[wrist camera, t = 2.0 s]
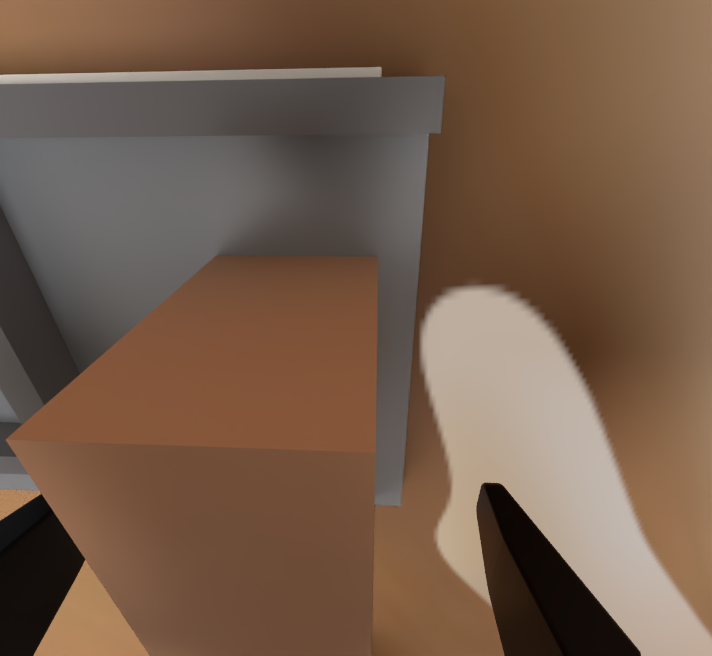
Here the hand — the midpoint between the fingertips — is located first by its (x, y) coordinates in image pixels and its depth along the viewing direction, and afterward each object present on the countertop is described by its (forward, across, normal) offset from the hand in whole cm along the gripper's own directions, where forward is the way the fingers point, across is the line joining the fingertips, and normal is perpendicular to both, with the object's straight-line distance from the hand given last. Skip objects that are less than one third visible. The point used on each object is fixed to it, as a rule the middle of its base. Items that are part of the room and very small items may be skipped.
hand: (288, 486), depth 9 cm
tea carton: (+3, 0, 0) cm, 3 cm away
